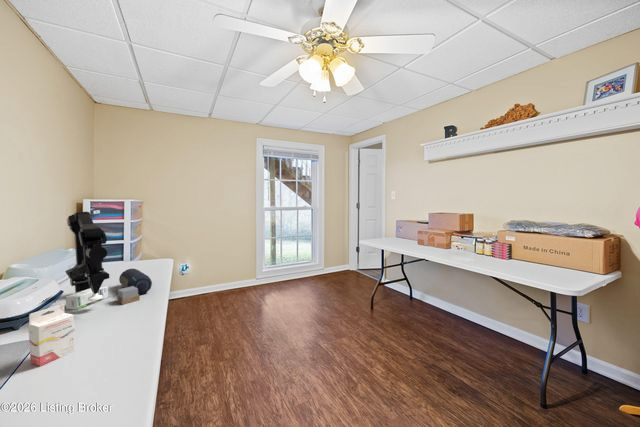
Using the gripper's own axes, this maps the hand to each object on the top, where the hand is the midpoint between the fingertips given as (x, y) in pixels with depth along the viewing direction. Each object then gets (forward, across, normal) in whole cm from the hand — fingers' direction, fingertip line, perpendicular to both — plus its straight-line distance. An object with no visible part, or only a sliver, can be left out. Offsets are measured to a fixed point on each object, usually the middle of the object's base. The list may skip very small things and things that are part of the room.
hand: (95, 292), depth 111 cm
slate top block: (+5, 0, +12) cm, 13 cm away
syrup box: (+4, -9, -7) cm, 12 cm away
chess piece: (+3, 0, 0) cm, 3 cm away
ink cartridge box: (+8, +33, -17) cm, 38 cm away
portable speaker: (+8, -14, +19) cm, 25 cm away
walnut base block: (+8, 0, +12) cm, 14 cm away
